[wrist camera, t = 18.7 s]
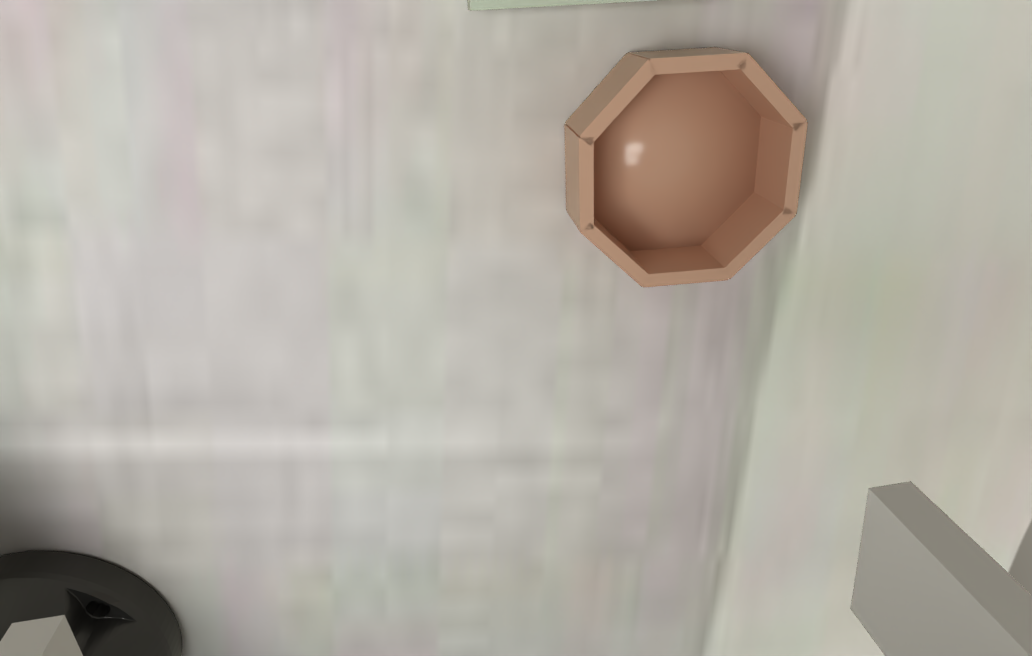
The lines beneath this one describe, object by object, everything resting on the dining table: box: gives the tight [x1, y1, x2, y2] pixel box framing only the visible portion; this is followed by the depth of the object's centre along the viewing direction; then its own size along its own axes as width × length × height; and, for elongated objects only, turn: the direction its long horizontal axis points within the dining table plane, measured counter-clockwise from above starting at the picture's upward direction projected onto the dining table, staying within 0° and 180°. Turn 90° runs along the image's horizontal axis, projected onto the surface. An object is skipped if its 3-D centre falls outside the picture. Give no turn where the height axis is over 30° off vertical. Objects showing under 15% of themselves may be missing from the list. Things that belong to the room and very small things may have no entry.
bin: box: [564, 47, 808, 287], centre depth 37 cm, size 11×11×4 cm
